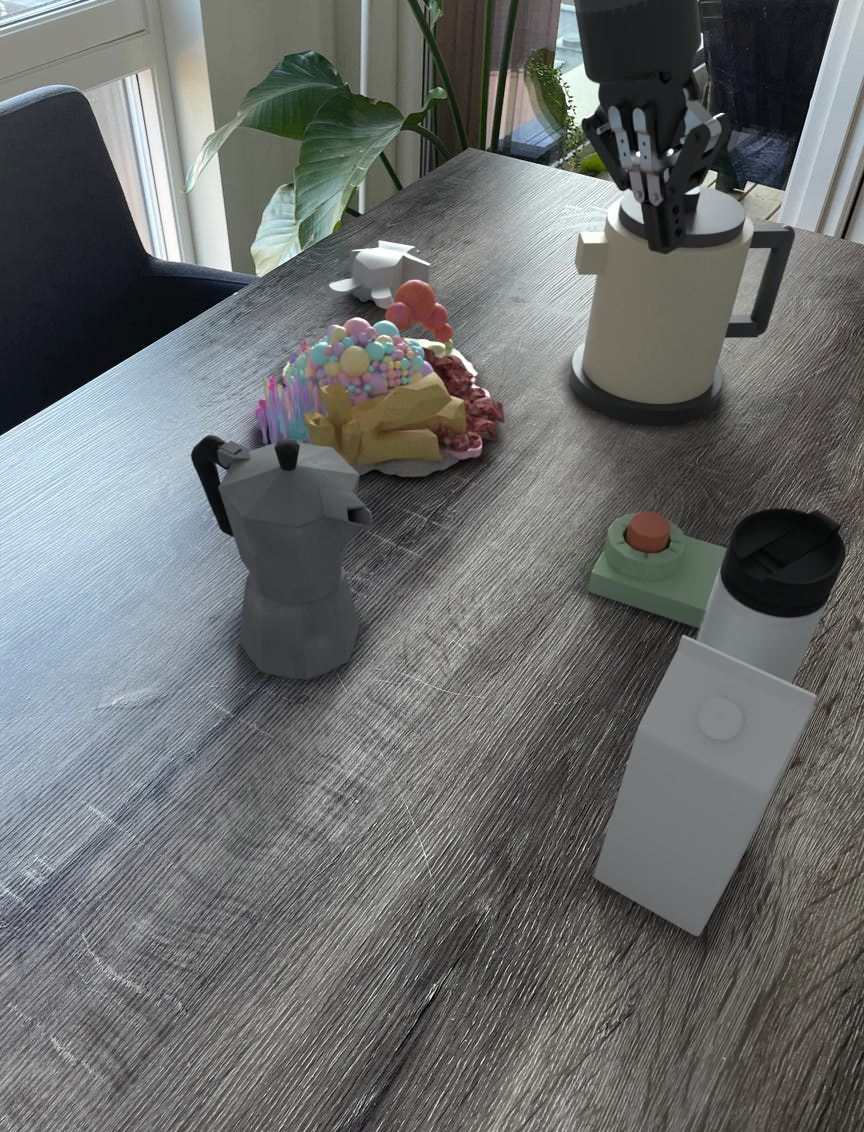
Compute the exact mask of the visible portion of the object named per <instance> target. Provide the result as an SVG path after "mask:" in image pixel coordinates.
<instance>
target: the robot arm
mask: <svg viewBox="0 0 864 1132" xmlns="http://www.w3.org/2000/svg"><path fill="white" fill-rule="evenodd" d="M573 3H574V5H573V6H574V10H575V11H574V12H575V18H576V23H577V30H578V37H579V43H580V48H581V49H580V50H581V55H582V61H583V67H584V73H585V76H586V78H587V79H588V80H589V81H590V82H592V83H595V84H598V90H597V91H598V92H597V97H598V103H599V105H598V106H597V108H595V110H594V112H591V114H590V115H587V116H586V117H583V118H582V120H581V124H580V125H581V129H582V132H583V133H584V135H585V136H586V138H587V141H589V143H590V145H591V146H592V148H593V150H594V151H595V153H596V154H597V156H598V158H599V159H600V161H601V163H602V164H603V166H604V168H605V169H606V171H607V173H608V174H609V176H610V178H611V180H612V182H614V184H615V186H616V187H617V189H618V190H619V191H621V192H625V191H629V190H631V191H632V192H633V196H634V198H635V200H636V201H637V202H639V203H641V209H642V216H643V222H644V227H645V228H644V231H645V236H646V239H647V241H648V247H649V250H650V251H654V252H658V253H662V254H668V253H670V252H672V251H673V250H675V249H677V248H679V247H680V246H682V245H683V243H684V240H685V237H686V226H685V220H684V219H685V217H684V208H683V194H685V193H687V192H689V191H691V190H692V189H694V188H696V187H698V186H700V185H701V186H702V184H703V183H704V182H705V179H706V177H707V176H708V173H709V171H710V169H711V167H712V165H713V164H714V162H715V159H716V157H717V155H718V153H719V152H720V150H721V147H722V146H723V143H724V141H725V139H726V137H727V135H728V133H729V131H730V129H731V120H730V118H729V117H728V115H727V114H726V113H724V112H722V113H719V114H717V115H715V116H712V115H711V114H710V112H709V111H708V110H707V109H706V108H705V106H703V105H702V103H700V102H701V98H702V97H701V95H702V94H701V87H700V84H699V83H698V80H697V78H696V75H695V71H694V67H693V65H694V64H693V63H694V59H695V57H696V54H697V53H698V51H699V49H700V47H701V45H702V40H703V39H702V30H701V29H702V28H701V19H700V8H699V7H700V6H699V0H573Z"/></svg>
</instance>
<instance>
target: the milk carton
mask: <svg viewBox="0 0 864 1132" xmlns="http://www.w3.org/2000/svg"><path fill="white" fill-rule="evenodd" d="M664 673H665V674H664V676H663V677H662V680H661V681H660V682H659V685H658V687H657V689H656V691H655V693H654V695H653V696H652V699H651V701H650V703H649V705H648V707H647V708H646V710H645V712H644V715H643V716H642V718H641V720H640V722H639V724H638V725H637V731H636V734H635V737H634V739H633V744H632V747H631V750H630V753H629V757H628V760H627V764H626V767H625V771H624V774H623V777H622V780H621V784H620V787H619V789H618V794H617V796H616V800H615V803H614V807H613V811H612V813H611V816H610V820H609V824H608V827H607V830H606V834H605V837H604V839H603V843H602V847H601V850H600V854H599V857H598V860H597V864H596V867H595V870H594V874H593V877H594V879H595V880H597V881H598V882H600V883H602V884H604V885H605V886H607V887H609V888H610V889H612V890H613V891H616V892H618V893H619V894H621V895H623V896H624V897H626V898H628V899H630V900H632V901H633V902H635V903H636V904H638V905H640V906H641V907H643V908H645V909H647V910H649V911H651V912H652V913H654V914H656V915H657V916H659V917H661V918H663V919H665V920H666V921H668V922H669V923H671V924H673V925H675V926H676V927H678V928H680V929H682V930H684V931H685V932H688V933H689V934H690V935H693V936H695V937H699V936H701V934H702V933H703V930H704V929H705V926H707V923H708V921H709V919H710V918H711V916H712V914H713V912H714V910H715V908H716V907H717V904H718V903H719V901H720V899H721V897H722V896H723V894H724V892H725V890H726V888H727V886H728V884H729V882H730V881H731V879H732V877H733V875H734V873H735V872H736V869H737V868H738V866H739V864H740V862H741V860H742V859H743V856H744V855H745V853H746V852H747V851H746V850H747V849H748V846H749V845H750V842H751V841H752V838H753V836H754V835H755V832H756V830H757V828H758V826H759V824H760V822H761V820H762V817H763V816H764V813H765V811H766V809H767V807H768V805H769V803H770V801H771V799H772V797H773V795H774V793H775V790H776V789H777V786H778V785H779V782H780V781H781V779H782V776H783V774H784V772H785V770H786V768H787V767H788V764H789V761H790V760H791V757H792V755H793V753H794V751H795V749H796V747H797V746H798V743H799V741H800V739H801V736H802V735H803V733H804V731H805V728H806V726H807V724H808V722H809V720H810V718H811V716H812V714H813V713H814V710H815V708H816V705H814V704H815V702H816V700H817V698H818V695H817V694H815V693H814V692H811V691H809V690H806V689H804V688H802V687H800V686H798V685H795V684H793V683H792V684H791V683H789V682H787V681H785V680H782V679H780V678H778V677H776V676H774V675H771V674H769V673H767V672H765V671H763V670H760V669H758V668H756V667H754V666H752V665H749V664H747V663H745V662H743V661H741V660H738V659H736V658H734V657H732V656H730V655H727V654H725V653H723V652H721V651H719V650H716V649H714V648H712V647H710V646H707V645H705V644H703V643H701V642H699V641H696V639H694V638H692V637H691V636H687V635H685V634H683V635H682V636H681V637H680V641H679V643H678V647H677V650H676V652H675V654H674V656H673V657H672V660H671V661H670V664H669V665H668V668H667V670H666V671H665V672H664Z"/></svg>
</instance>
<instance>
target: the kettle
mask: <svg viewBox="0 0 864 1132" xmlns="http://www.w3.org/2000/svg"><path fill="white" fill-rule="evenodd" d="M683 208H684V217H685V219H684V220H685V226H686V237H685V240H684V243H683V245H682V246H680V247H679V248H677V249H675V250H673V251H672V252H670V253H668V254H662V253H658V252H654V251H650V250H649V247H648V241H647V239H646V236H645V231H644V228H645V227H644V222H643V216H642V209H641V203H639V202H637V201H636V200H635V198H634V196H633V192H632V191H631V190H629V189H628V190H627V191H626V192H625V193H623V195H622V196H621V198H619V199H617V200H616V201H614V202H613V203H612V204H611V205H610V207H609V208H608V209H607V212H606V217H605V221H604V222H605V223H604V228H603V231H579V232H578V239H577V245H576V250H575V258H574V265H575V268H576V271H577V274H578V275H579V276H595V282H594V288H593V295H592V299H591V305H590V311H589V318H588V324H587V329H586V334H585V335H586V336H585V341H584V342H583V343H581V344H580V345H579V347H577V348H576V349H575V352H574V354H573V356H572V359H571V365H570V371H569V384H570V388H571V390H572V391H573V393H574V395H575V396H576V398H578V400H580V402H581V403H583V404H584V405H585V406H586V407H588V408H590V409H592V411H595V412H597V413H598V414H600V415H602V416H604V417H607V418H610V419H612V420H615V421H618V422H621V423H627V424H629V425H636V426H642V427H643V426H645V427H673V426H680V425H685V424H689V423H692V422H694V421H695V422H696V421H697V420H699V419H702V418H704V417H706V416H707V415H708V414H709V413H711V412H712V411H713V410H714V409H715V407H716V406H717V405H718V402H719V399H720V395H721V392H722V390H723V389H722V388H723V385H724V379H725V376H724V372H723V370H722V367H721V365H720V363H719V359H720V356H721V352H722V349H723V346H724V343H725V339H737V338H738V339H742V338H746V339H747V338H748V339H749V338H750V339H751V338H759V336H761V335H763V334H764V333H766V331H767V329H768V326H769V323H770V320H771V317H772V314H773V310H774V306H775V303H776V300H777V297H778V294H779V290H780V287H781V285H782V280H783V277H784V274H785V271H786V267H787V264H788V261H789V258H790V255H791V252H792V249H793V248H792V247H793V244H794V241H795V238H796V231H795V229H794V228H793V227H792V226H791V225H787V224H785V223H754V222H753V221H752V220H751V218H750V217H749V216H748V215H747V213H746V212H747V211H746V209H745V207H744V205H742V203H741V202H740V201H738V200H737V199H736V198H734V197H733V196H731V195H730V194H727V193H726V192H723V191H721V190H718V189H715V188H713V187H708V186H704V185H702V184H701V185H700V186H698V187H696V188H694V189H692V190H691V191H689V192H687V193H685V194H683ZM750 249H769V250H768V251H769V252H768V255H767V258H766V262H765V266H764V269H763V272H762V275H761V279H760V281H759V285H758V290H757V293H756V296H755V300H754V304H753V307H752V310H751V313H750V314H732V313H733V309H734V307H735V302H736V298H737V295H738V291H739V288H740V284H741V280H742V277H743V274H744V270H745V266H746V262H747V258H748V255H749V253H750V252H749V251H750Z"/></svg>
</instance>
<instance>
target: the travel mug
mask: <svg viewBox="0 0 864 1132" xmlns="http://www.w3.org/2000/svg"><path fill="white" fill-rule="evenodd" d="M841 527H842V525H841V524H840V523H839V522H837V521H836V520H834V519H833V518H831V517H830V516H828V515H826V514H825V513H823V512H822V511H820V510H819V509H818V508H817V509H814V510H813V511H810V512H806V511H803V510H799V509H793V508H785V507H782V508H781V507H780V508H778V507H776V508H768V509H763V510H758V511H754V512H753V513H751V514H749V515H747V516H745V517H744V518H742V519H741V520H740V521H739V522H738V523H737V524H736V525H735V527H734V528H733V530H732V532H731V535H730V537H729V541H728V543H727V547H726V548H727V549H726V552H725V557H724V559H723V561H722V563H721V565H720V567H719V570H718V575H717V577H716V580H715V583H714V586H713V589H712V592H711V595H710V598H709V601H708V604H707V607H706V610H705V613H704V616H703V619H702V622H701V626H700V628H698V632H697V635H696V638H695V640H696V641H699V642H701V643H703V644H705V645H707V646H710V647H712V648H714V649H716V650H719V651H721V652H723V653H725V654H727V655H730V656H732V657H734V658H736V659H738V660H741V661H743V662H745V663H747V664H749V665H752V666H754V667H756V668H758V669H760V670H763V671H765V672H767V673H769V674H771V675H774V676H776V677H778V678H780V679H782V680H785V681H787V682H789V683H791V684H793V682H794V679H795V677H796V675H797V672H798V670H799V668H800V666H801V664H802V661H803V659H804V657H805V655H806V652H807V650H808V648H809V647H810V643H811V642H812V639H813V636H814V635H815V632H816V630H817V628H818V625H819V623H820V621H821V619H822V616H823V615H824V612H825V608H826V607H827V604H828V602H829V600H830V598H831V597H830V596H831V592H832V590H833V589H834V587H835V585H836V581H837V579H838V577H839V575H840V573H841V570H842V568H843V567H844V563H845V561H846V557H847V556H846V555H847V554H846V552H847V551H846V545H845V542H844V540H843V539H842V536H841V535H840V534H839V533H840V530H841Z"/></svg>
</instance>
